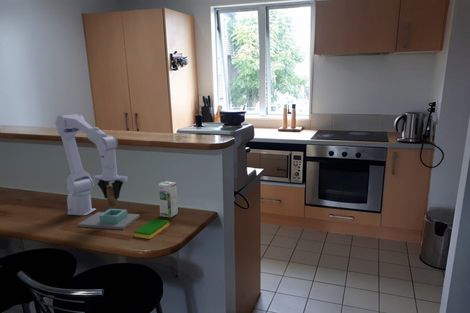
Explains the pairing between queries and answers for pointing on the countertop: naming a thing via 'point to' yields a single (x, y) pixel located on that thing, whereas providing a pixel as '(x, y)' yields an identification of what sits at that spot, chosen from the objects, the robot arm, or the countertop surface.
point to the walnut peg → (111, 196)
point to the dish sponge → (151, 228)
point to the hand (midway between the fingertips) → (112, 197)
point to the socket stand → (110, 219)
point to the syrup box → (168, 199)
